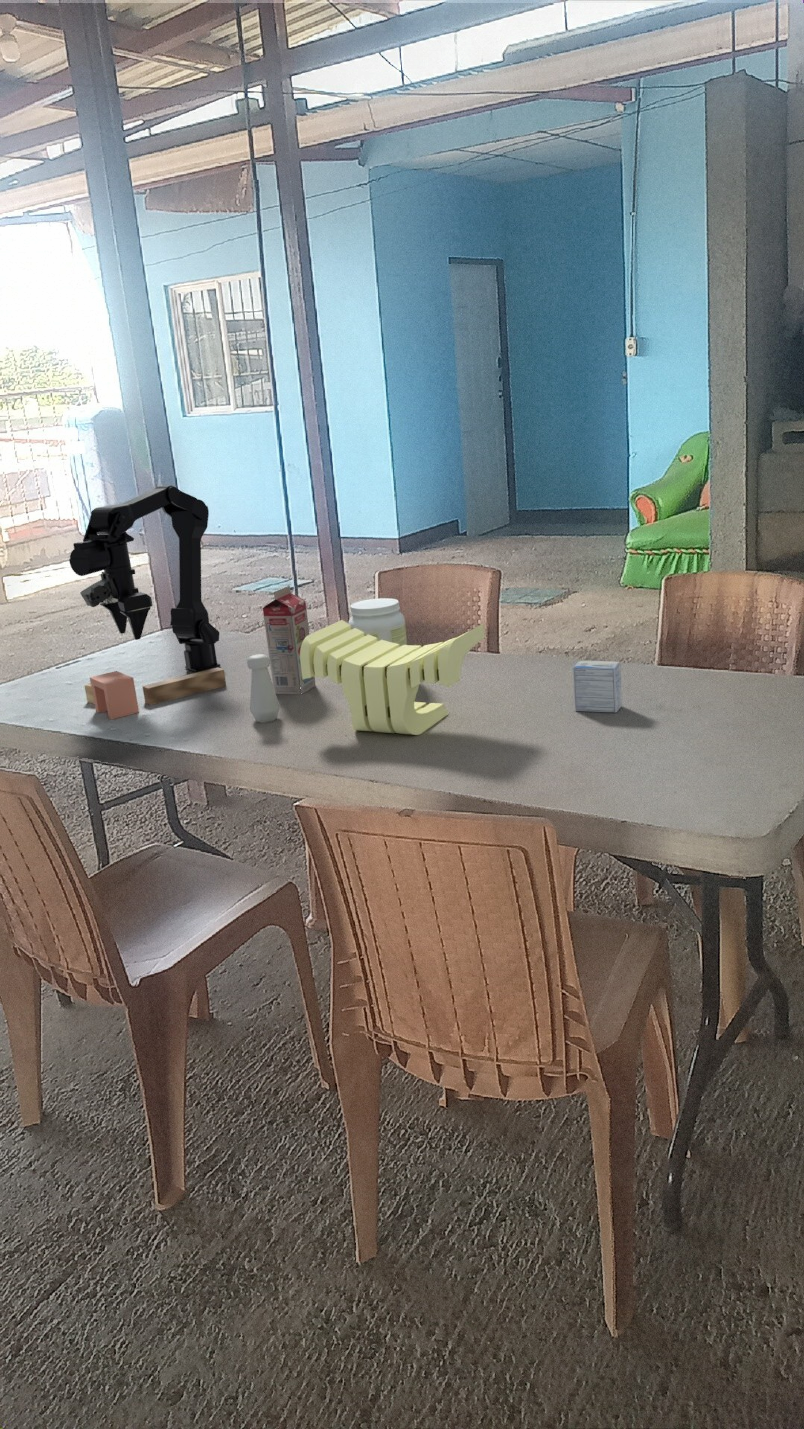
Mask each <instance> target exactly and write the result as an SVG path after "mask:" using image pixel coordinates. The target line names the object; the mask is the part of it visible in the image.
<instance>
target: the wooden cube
mask: <svg viewBox="0 0 804 1429" xmlns="http://www.w3.org/2000/svg"><path fill="white" fill-rule="evenodd" d="M84 692H85V696H86V701H87V703H88V704H94V698H93V693H92V688H91V682H90V683H88V684H84Z"/></svg>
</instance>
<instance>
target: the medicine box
mask: <svg viewBox="0 0 804 1429" xmlns="http://www.w3.org/2000/svg"><path fill="white" fill-rule="evenodd" d="M621 664H622V663H621V662H620V661H604V660H594V661H593V660H579V661H578V662H577V663H576V664H575V665H574V666H573V667H572V672H573V673H572V674H573V675H572V676H573V692H574V694H573V695H574V696H573V697H574V710H575V712H592V713H597V712H598V713H614V714H615V713H616V714H617V712H619V710H620V709H621V707H622V706H623V695H622V694H623V692H622V669H621Z"/></svg>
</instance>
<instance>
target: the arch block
mask: <svg viewBox="0 0 804 1429" xmlns="http://www.w3.org/2000/svg"><path fill="white" fill-rule="evenodd" d="M89 680H90V681H89V682H90V683H91V688H92V693H93V698H94V703H93V704H94V708H95V712H97V713H100V714H101V713H105V712H107V715H108V719H109V720H110V719H111V720H114V719H119V718H122V717H126V716H130V715H133V714H138V713H139V712H140V708H139V704H138V698H137V693H136V686H135V680H134V677H132V676H130V675H127V674H125V673H122V672H120V671H117V670H114V671H110V672H106V673H102V674H98V675H94V676H89Z"/></svg>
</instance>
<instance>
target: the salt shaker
mask: <svg viewBox="0 0 804 1429" xmlns="http://www.w3.org/2000/svg"><path fill="white" fill-rule="evenodd" d="M246 661H247V662H246V664H247V668H248V669H249V670H251V679H250V680H251V681H250V683H251V684H250V697H249V698H250V699H249V711H250V714H251V715H252V716H253V718H254V720H255V721H256V723H262V724H265V723H270V722H271V723H272V722H274V721H275V720H276V719H278V715H279V712H280V708H281V707H280V703H279V698H278V697H277V694H276V693H275V690H274V687H273V683H272V676H271V675H270V671H269V669H268V667H269V666H270V660H269V655H266V654H263V653H260V654H259V653H258V654H253V655H251V656H249V657H248V658H247V660H246Z"/></svg>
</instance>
